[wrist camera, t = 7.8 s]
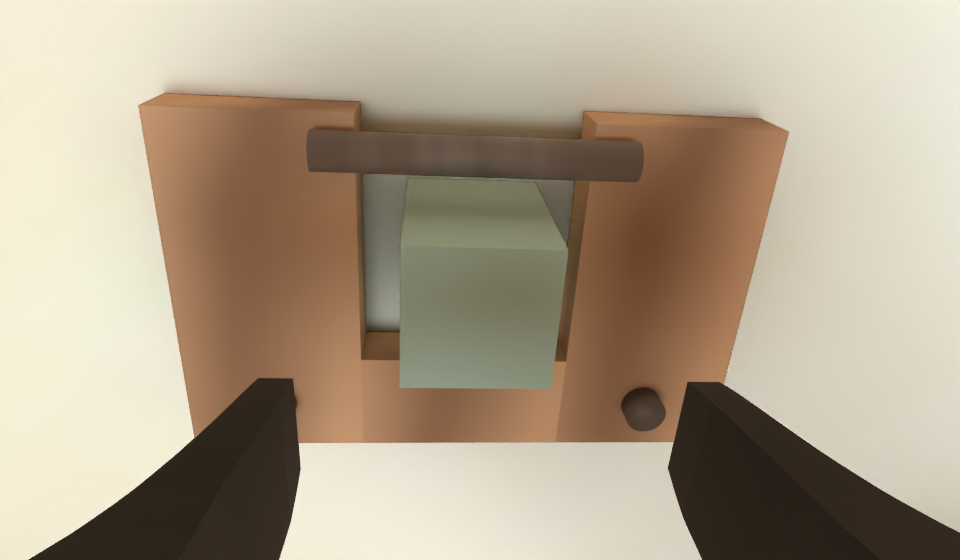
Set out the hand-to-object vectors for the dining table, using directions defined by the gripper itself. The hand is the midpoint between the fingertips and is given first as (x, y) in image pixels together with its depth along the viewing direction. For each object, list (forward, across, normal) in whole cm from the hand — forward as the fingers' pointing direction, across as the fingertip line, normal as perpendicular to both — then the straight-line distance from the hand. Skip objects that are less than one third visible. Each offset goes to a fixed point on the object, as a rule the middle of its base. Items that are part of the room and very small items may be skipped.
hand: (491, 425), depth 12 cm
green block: (+8, 0, 0) cm, 8 cm away
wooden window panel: (+8, 0, +1) cm, 8 cm away
